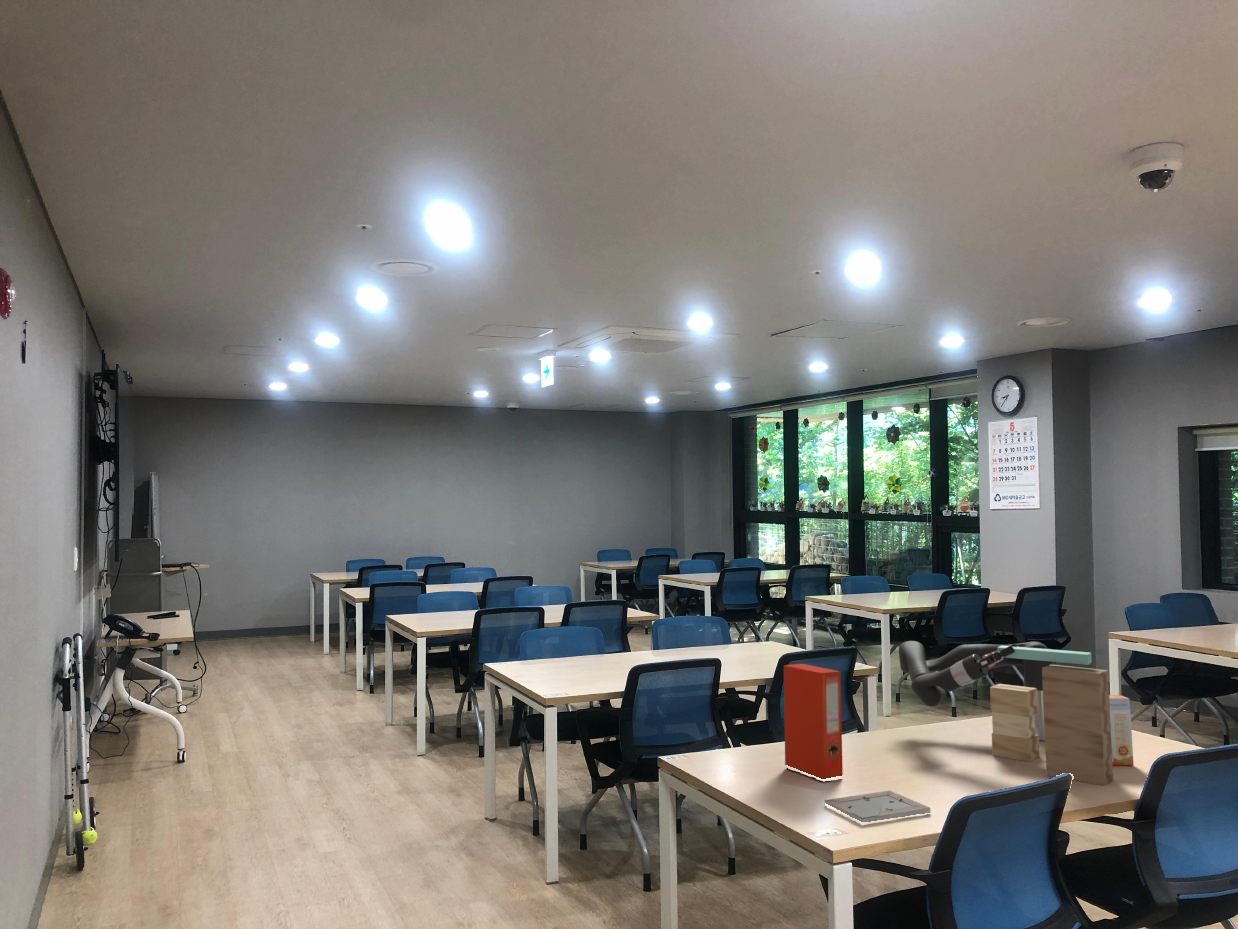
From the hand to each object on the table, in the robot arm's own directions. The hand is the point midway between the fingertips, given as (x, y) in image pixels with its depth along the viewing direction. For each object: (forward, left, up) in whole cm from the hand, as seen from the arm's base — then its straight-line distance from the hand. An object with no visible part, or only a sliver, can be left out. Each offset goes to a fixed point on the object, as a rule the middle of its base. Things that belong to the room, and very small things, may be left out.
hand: (1015, 647), depth 278 cm
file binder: (+51, -42, -37) cm, 76 cm away
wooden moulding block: (+1, +18, -37) cm, 41 cm away
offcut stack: (-11, -5, -37) cm, 39 cm away
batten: (-1, +8, -3) cm, 9 cm away
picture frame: (+69, -11, -37) cm, 79 cm away
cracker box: (-21, +19, -37) cm, 46 cm away
